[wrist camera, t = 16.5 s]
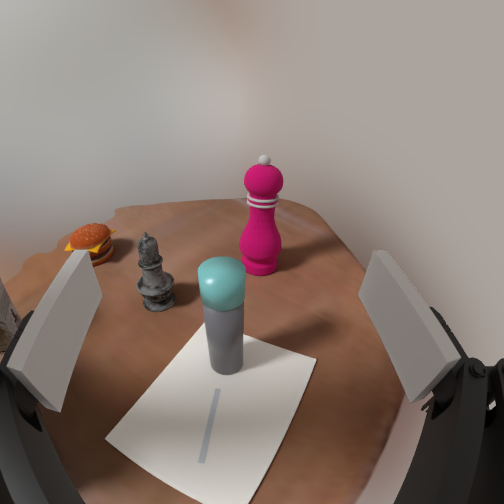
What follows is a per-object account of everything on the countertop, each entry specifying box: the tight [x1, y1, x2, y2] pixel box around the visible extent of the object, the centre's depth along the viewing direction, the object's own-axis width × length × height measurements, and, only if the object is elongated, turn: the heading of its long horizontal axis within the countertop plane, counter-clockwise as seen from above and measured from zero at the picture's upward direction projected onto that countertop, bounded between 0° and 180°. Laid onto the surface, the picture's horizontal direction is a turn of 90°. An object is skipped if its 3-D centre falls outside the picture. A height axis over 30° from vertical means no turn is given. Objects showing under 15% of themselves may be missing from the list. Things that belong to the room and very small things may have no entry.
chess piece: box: [136, 232, 175, 312], centre depth 38 cm, size 6×6×12 cm
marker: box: [198, 257, 246, 375], centre depth 28 cm, size 4×4×14 cm
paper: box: [105, 322, 317, 504], centre depth 26 cm, size 22×16×1 cm
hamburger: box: [65, 223, 116, 266], centre depth 49 cm, size 9×10×7 cm
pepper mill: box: [239, 155, 283, 276], centre depth 44 cm, size 7×7×20 cm
